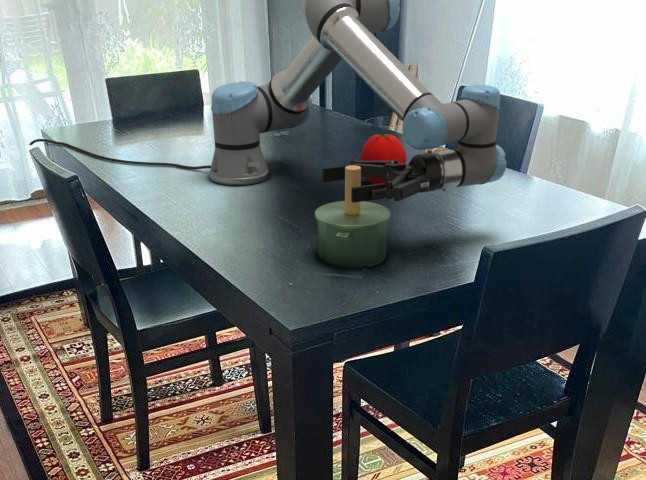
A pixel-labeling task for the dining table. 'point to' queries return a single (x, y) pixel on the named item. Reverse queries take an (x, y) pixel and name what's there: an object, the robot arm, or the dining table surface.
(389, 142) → the tomato
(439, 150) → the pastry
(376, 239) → the pot
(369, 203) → the lid
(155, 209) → the dining table surface
